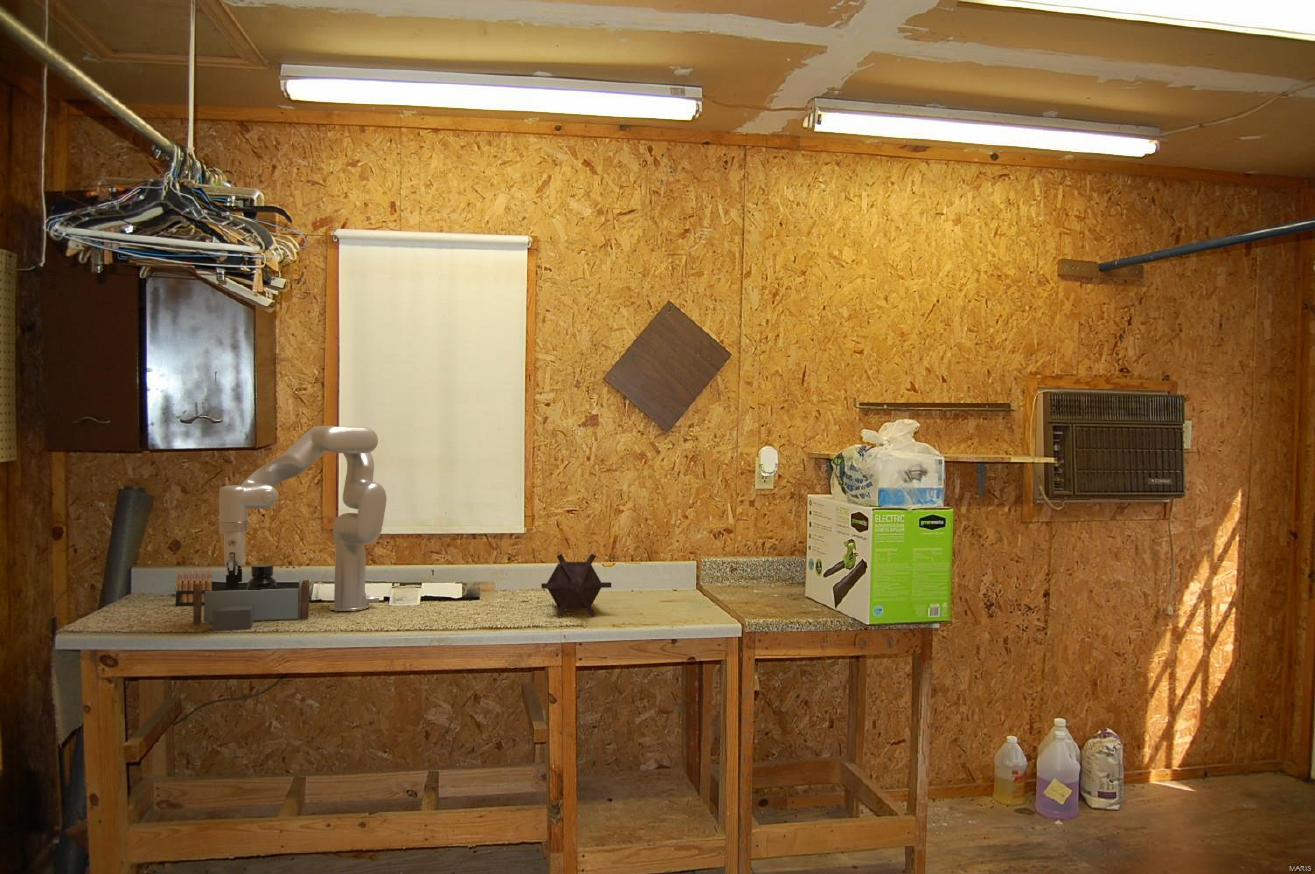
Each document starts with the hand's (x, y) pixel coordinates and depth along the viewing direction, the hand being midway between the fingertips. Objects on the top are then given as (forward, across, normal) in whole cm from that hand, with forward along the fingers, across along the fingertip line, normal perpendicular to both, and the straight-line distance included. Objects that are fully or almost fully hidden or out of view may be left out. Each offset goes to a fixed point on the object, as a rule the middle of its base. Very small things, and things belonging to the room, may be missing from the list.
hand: (234, 585), depth 247 cm
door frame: (+13, +7, -4) cm, 15 cm away
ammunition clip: (+13, +38, +16) cm, 43 cm away
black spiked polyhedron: (+15, -5, -102) cm, 103 cm away
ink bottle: (+14, +42, -4) cm, 44 cm away
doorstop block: (+13, 0, 0) cm, 13 cm away
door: (+12, +8, -4) cm, 15 cm away
